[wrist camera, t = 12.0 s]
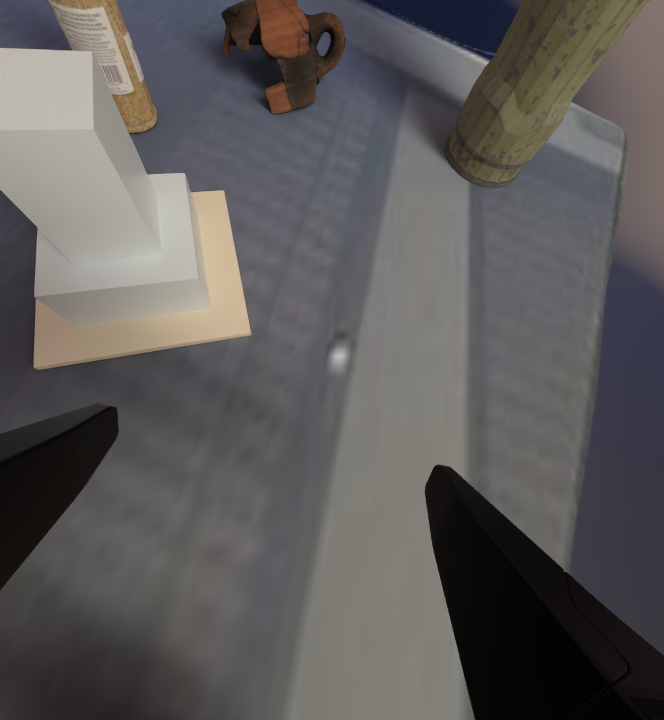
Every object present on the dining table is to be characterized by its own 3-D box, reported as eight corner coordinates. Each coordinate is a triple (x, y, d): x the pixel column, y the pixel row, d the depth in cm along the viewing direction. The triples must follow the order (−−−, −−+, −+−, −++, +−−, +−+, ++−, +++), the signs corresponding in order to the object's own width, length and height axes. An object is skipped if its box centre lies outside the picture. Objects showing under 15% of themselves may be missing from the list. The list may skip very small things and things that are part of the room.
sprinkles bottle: (166, 111, 31) (88, -139, 18) (145, 142, 29) (42, -111, 16) (120, 96, 30) (7, -169, 18) (96, 126, 29) (-48, -143, 16)
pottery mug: (246, 126, 32) (207, 9, 26) (247, 113, 39) (216, 16, 33) (359, 93, 32) (345, -33, 26) (341, 85, 39) (327, -17, 33)
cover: (211, 308, 24) (150, 163, 13) (76, 326, 22) (-138, 173, 11) (198, 215, 26) (138, 27, 15) (76, 223, 24) (-95, 14, 13)
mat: (251, 335, 24) (250, 332, 24) (39, 370, 21) (33, 367, 21) (224, 195, 28) (223, 190, 28) (43, 206, 25) (39, 201, 25)
